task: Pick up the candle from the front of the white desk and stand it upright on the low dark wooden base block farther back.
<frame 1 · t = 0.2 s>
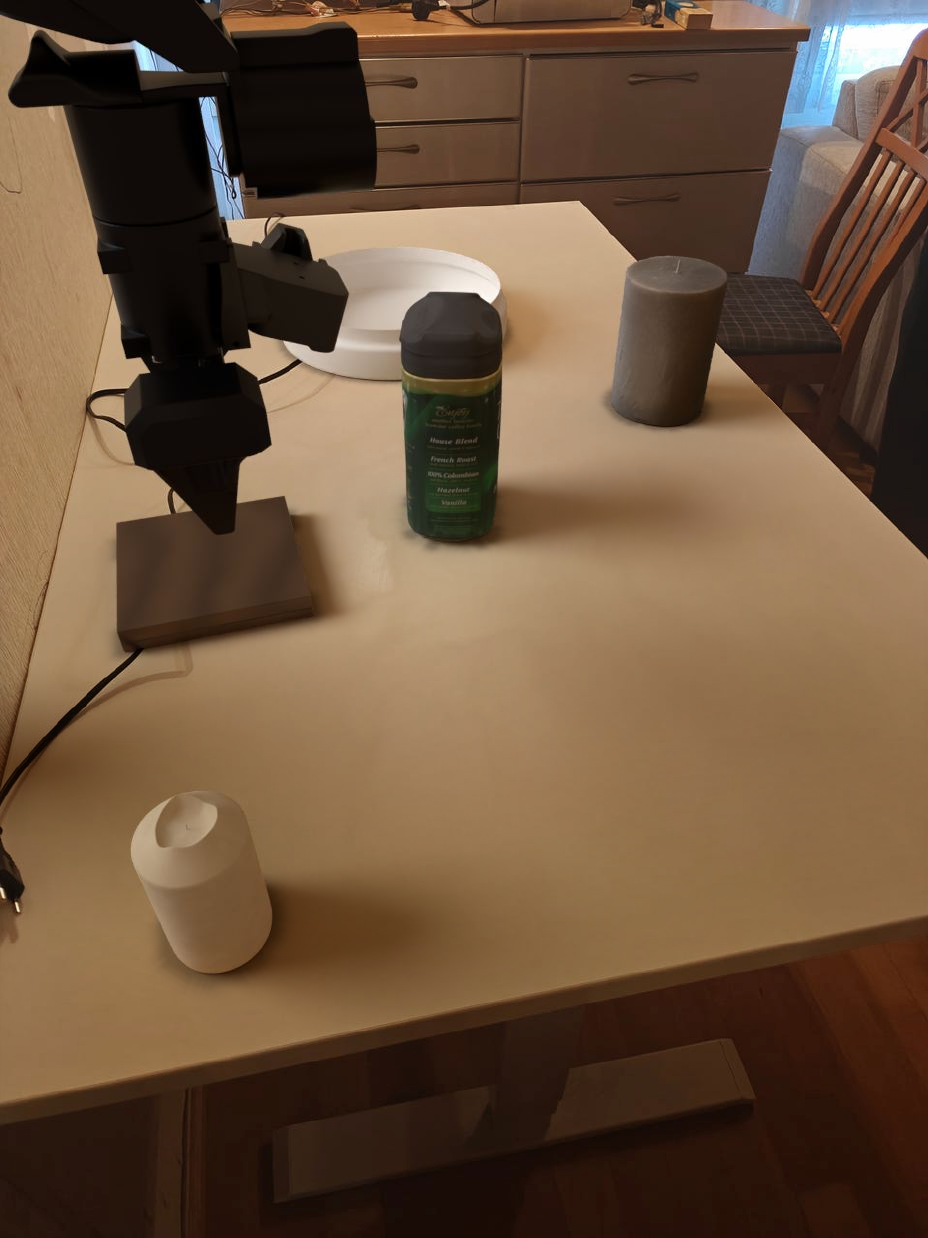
hand: (217, 488, 51), 16 cm above the table, tool pointing down, fingers open, 9 cm apart
round white dish: (395, 330, 105), on the table
coffee jar: (452, 515, 77), on the table
candle: (223, 928, 48), on the table
dark wooden base block: (213, 576, 70), on the table
pillar candle: (655, 405, 92), on the table
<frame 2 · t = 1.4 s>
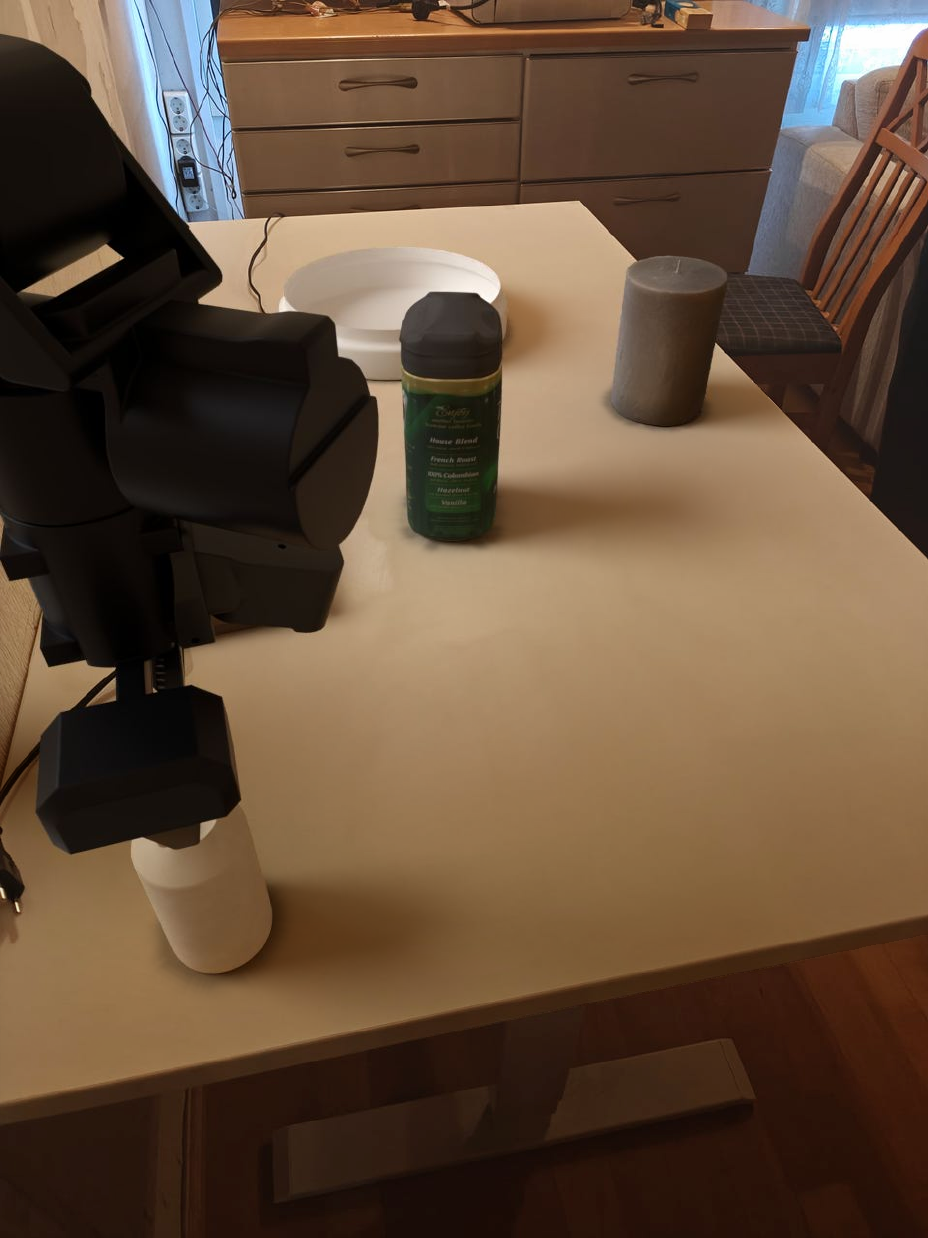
hand: (180, 763, 41), 12 cm above the table, tool pointing down, fingers open, 9 cm apart
nothing on the table moved.
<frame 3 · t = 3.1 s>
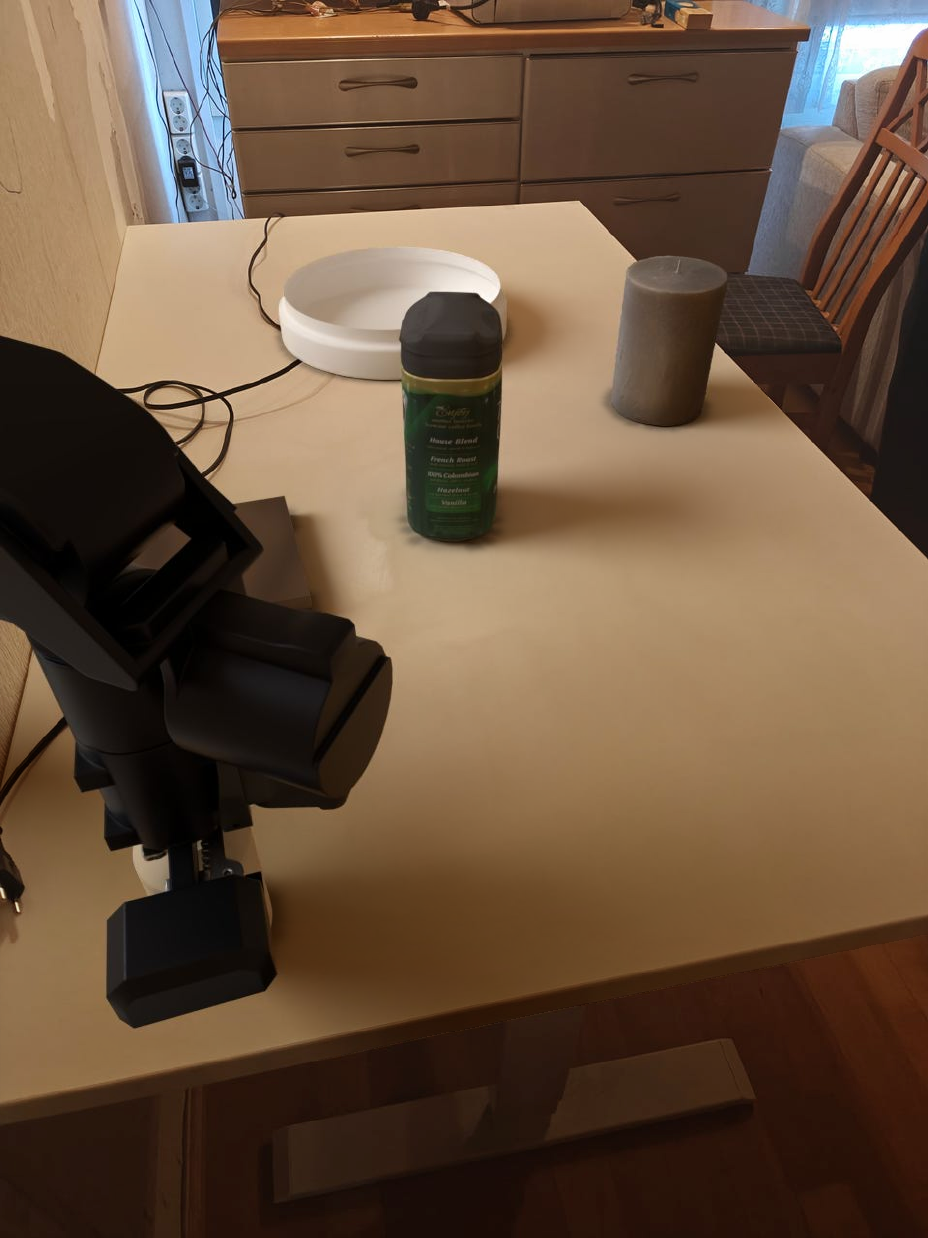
hand: (217, 902, 46), 3 cm above the table, tool pointing down, fingers closed on candle, 5 cm apart
candle: (223, 926, 48), on the table, touching gripper
everything else where it was.
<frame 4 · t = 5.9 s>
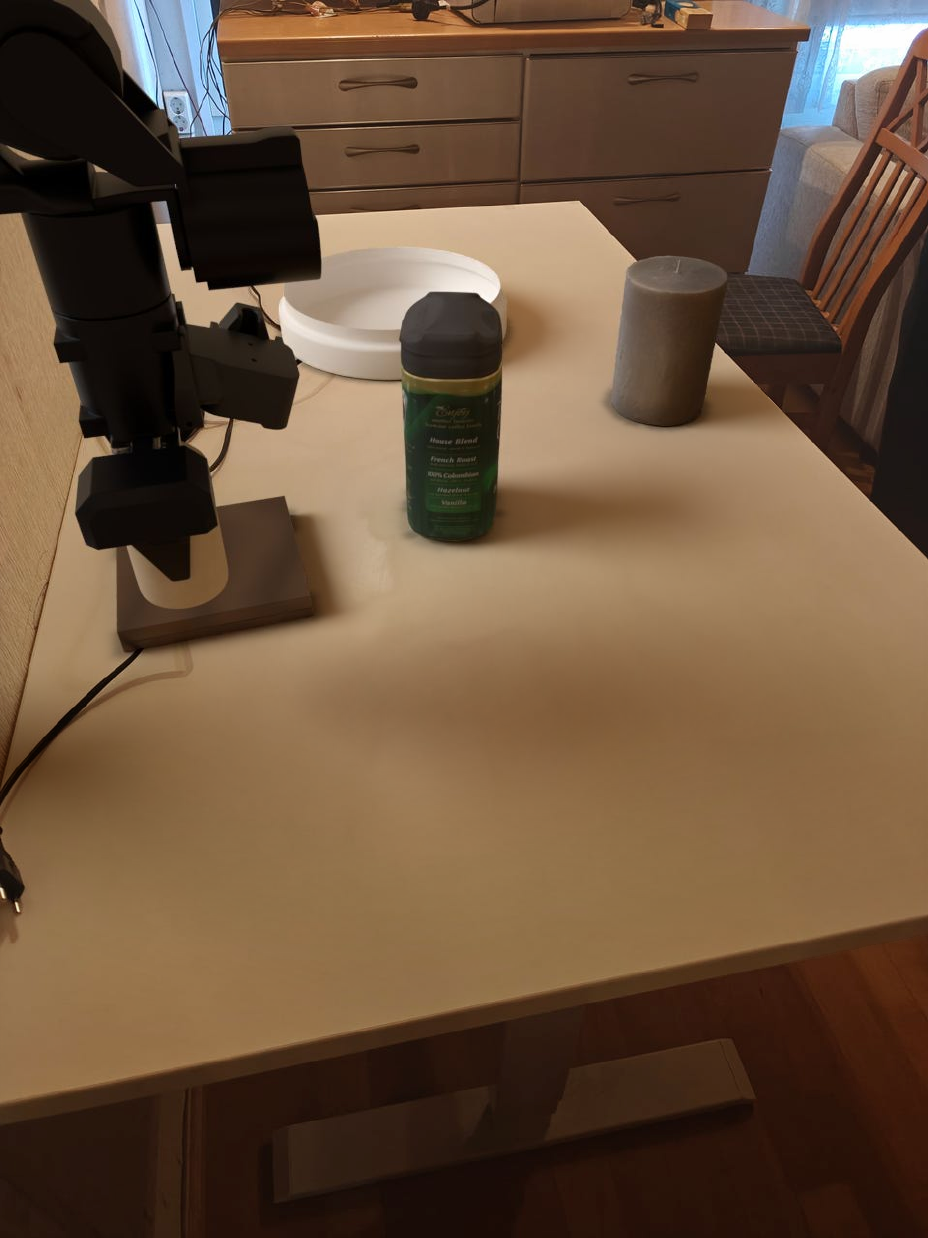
hand: (179, 549, 53), 12 cm above the table, tool pointing down, fingers closed on candle, 5 cm apart
candle: (185, 582, 55), point 9 cm above the table, touching gripper
everything else where it was.
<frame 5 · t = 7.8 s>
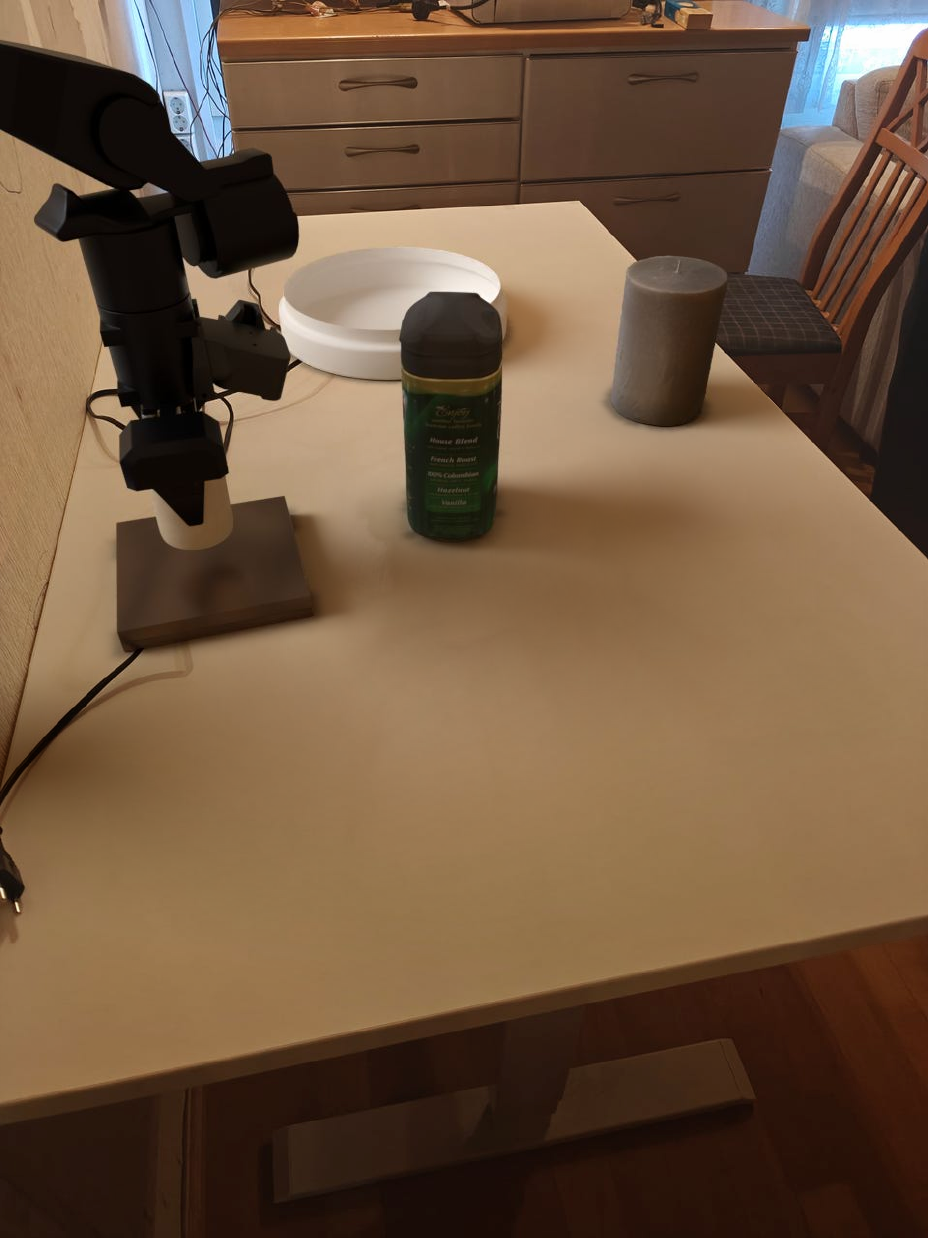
hand: (193, 502, 65), 7 cm above the table, tool pointing down, fingers closed on candle, 5 cm apart
candle: (198, 530, 67), point 5 cm above the table, touching gripper
everything else where it was.
when the fingers open (5 cm above the table, at t = 8.9 s): candle stays where it is, resting on dark wooden base block.
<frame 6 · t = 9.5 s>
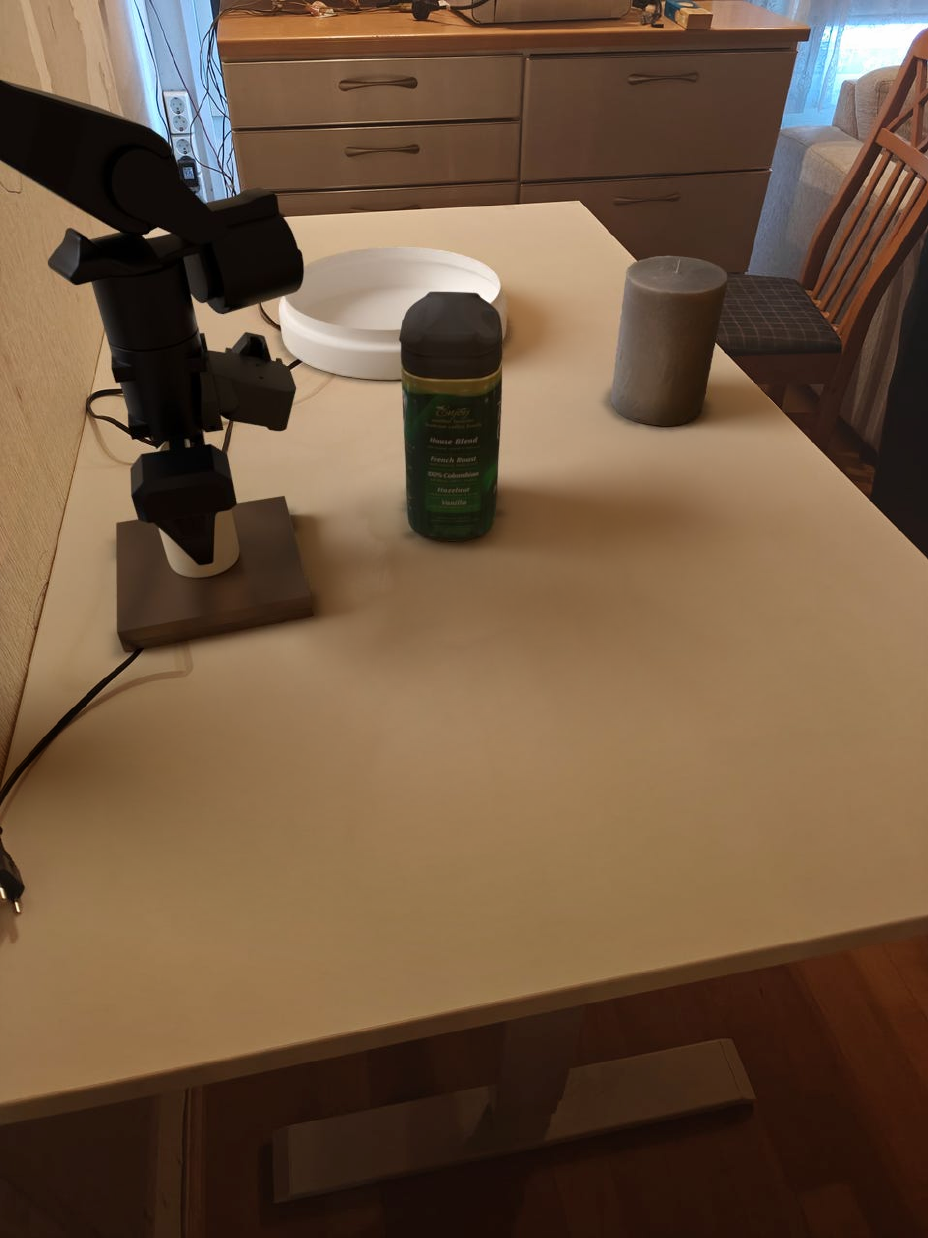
hand: (201, 527, 67), 5 cm above the table, tool pointing down, fingers open, 9 cm apart
candle: (205, 558, 69), point 2 cm above the table, touching dark wooden base block
everything else where it was.
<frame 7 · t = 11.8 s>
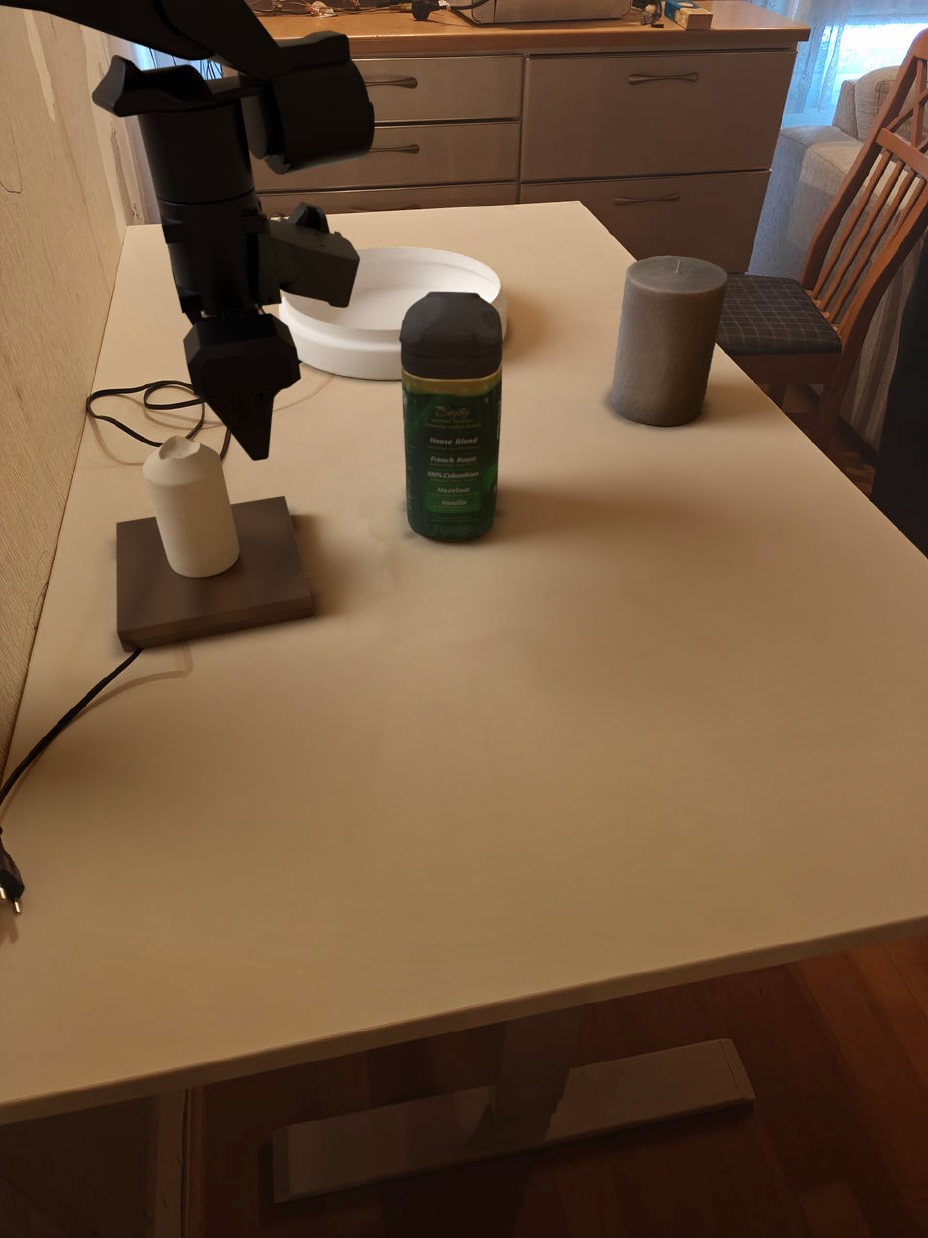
hand: (252, 425, 61), 13 cm above the table, tool pointing down, fingers open, 9 cm apart
nothing on the table moved.
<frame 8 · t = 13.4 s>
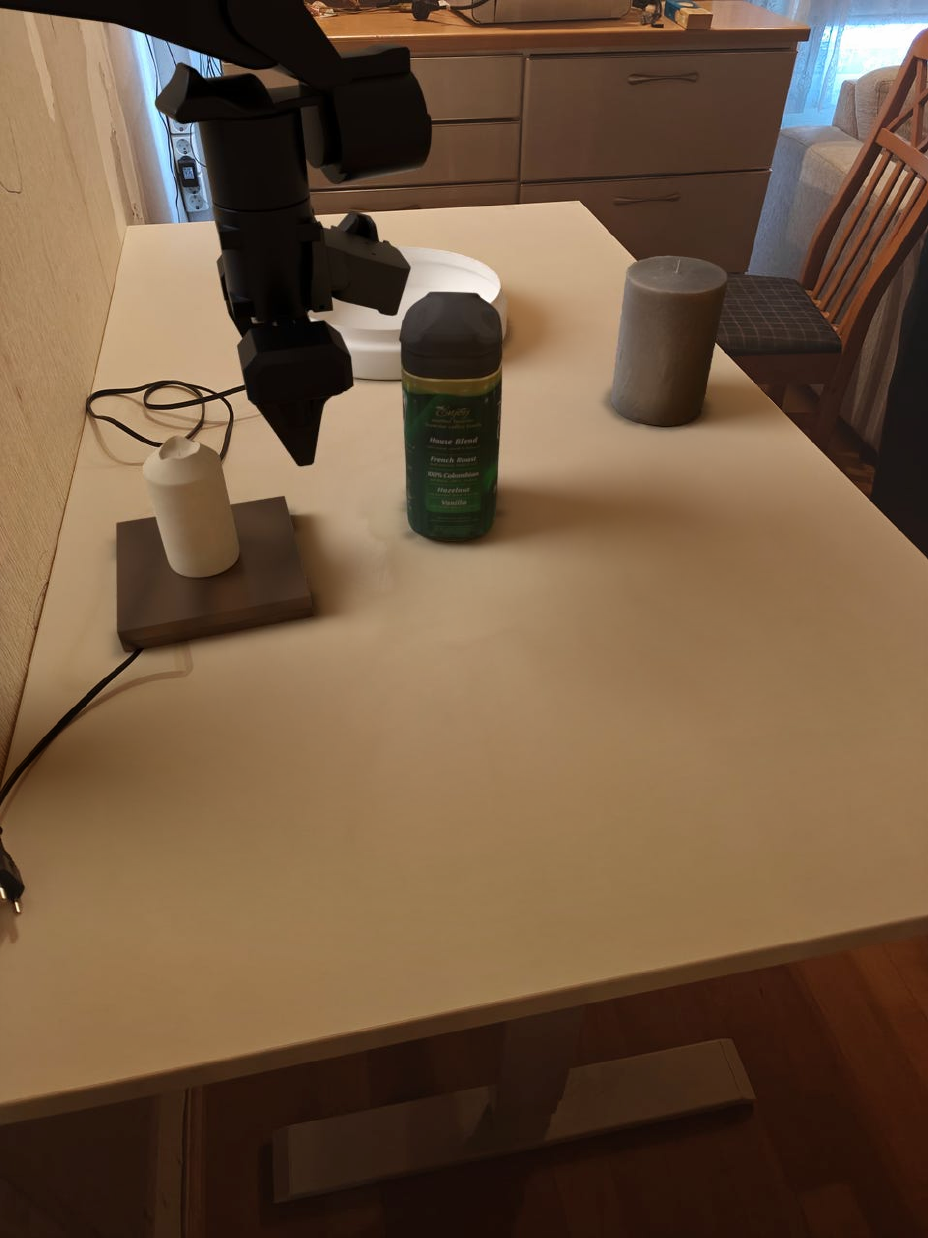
hand: (295, 431, 62), 13 cm above the table, tool pointing down, fingers open, 9 cm apart
nothing on the table moved.
at the end: candle inside the target area on the dark wooden base block (0.3 cm from its centre), point 1.8 cm above the dark wooden base block's base; candle tilted 0°; the gripper is holding nothing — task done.
